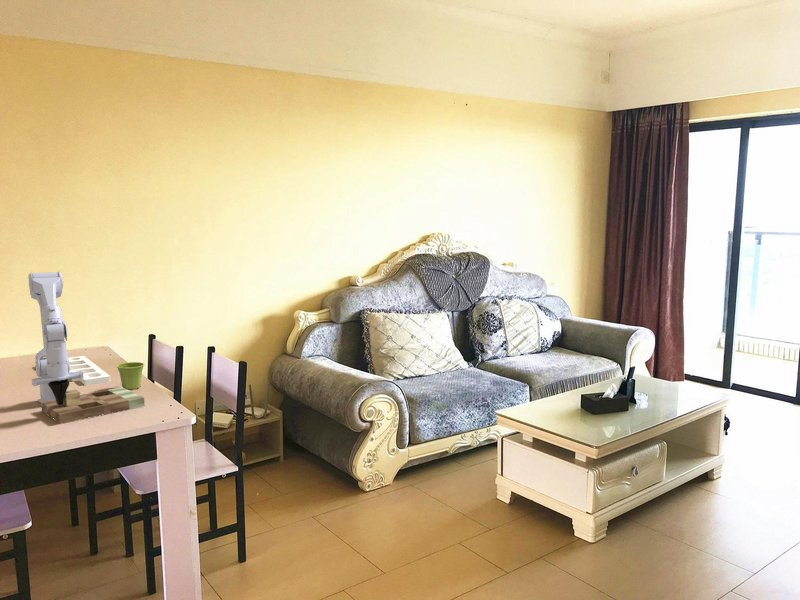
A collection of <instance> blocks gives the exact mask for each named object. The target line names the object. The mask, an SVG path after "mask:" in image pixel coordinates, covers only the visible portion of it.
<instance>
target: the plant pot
mask: <svg viewBox="0 0 800 600" xmlns="http://www.w3.org/2000/svg"><path fill="white" fill-rule="evenodd" d="M144 366H145V363H144V362H138V361H131V362H123V363H122V362H121V363H120V364H117V365H116V368H117V369H118V372H119V376H120V381H121V387H123V388H125V389H127V390H130V391H131V390H133V389H134V390H138V389H140V388H141V387H142V385H141V384H142V376H143V375H142V374H143V369H144ZM137 388H138V389H137ZM134 390H133V391H134Z"/></svg>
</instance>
